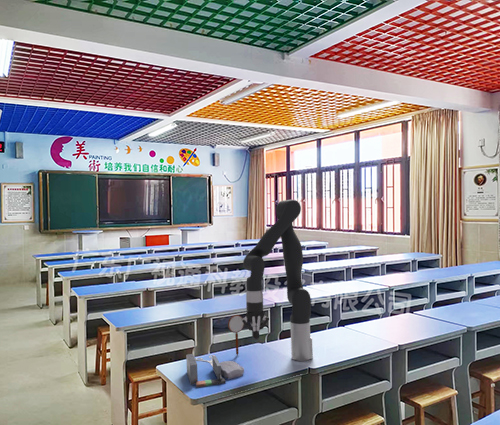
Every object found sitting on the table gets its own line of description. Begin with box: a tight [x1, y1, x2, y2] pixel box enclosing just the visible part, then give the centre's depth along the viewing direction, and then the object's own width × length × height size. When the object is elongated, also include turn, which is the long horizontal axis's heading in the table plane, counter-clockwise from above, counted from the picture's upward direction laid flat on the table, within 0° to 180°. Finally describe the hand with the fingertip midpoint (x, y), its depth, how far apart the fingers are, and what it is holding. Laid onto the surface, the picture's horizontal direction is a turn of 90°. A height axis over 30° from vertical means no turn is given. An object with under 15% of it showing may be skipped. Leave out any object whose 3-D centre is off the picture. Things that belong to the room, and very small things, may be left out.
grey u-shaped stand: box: [185, 353, 226, 388], centre depth 176 cm, size 14×18×8 cm
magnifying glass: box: [227, 314, 245, 357], centre depth 202 cm, size 9×2×20 cm, turn 117°
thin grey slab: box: [211, 355, 223, 380], centre depth 177 cm, size 2×18×6 cm, turn 15°
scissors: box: [195, 354, 216, 368], centre depth 195 cm, size 11×1×20 cm
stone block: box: [219, 360, 245, 380], centre depth 181 cm, size 12×5×10 cm
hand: (255, 339), depth 184 cm, fingers closed
